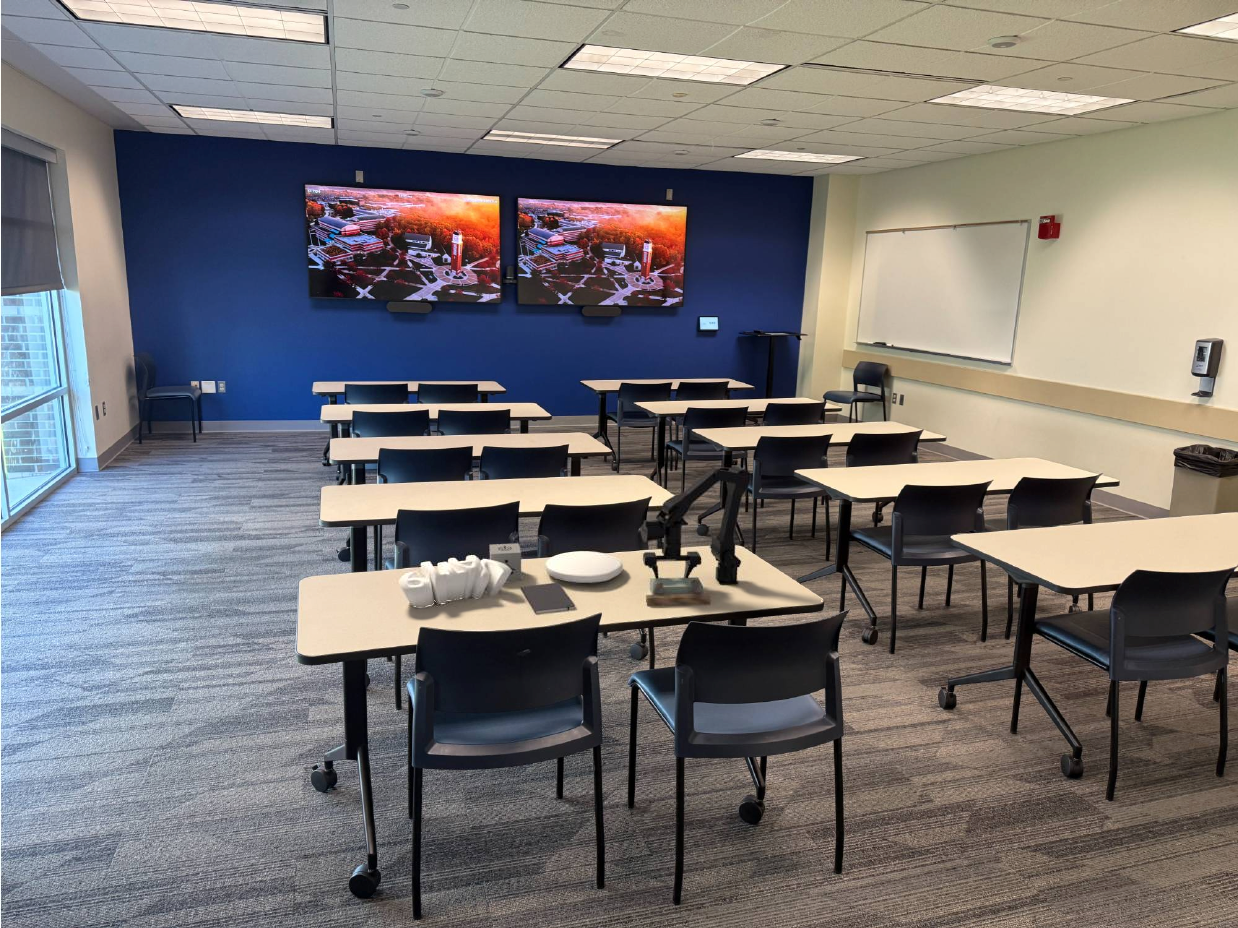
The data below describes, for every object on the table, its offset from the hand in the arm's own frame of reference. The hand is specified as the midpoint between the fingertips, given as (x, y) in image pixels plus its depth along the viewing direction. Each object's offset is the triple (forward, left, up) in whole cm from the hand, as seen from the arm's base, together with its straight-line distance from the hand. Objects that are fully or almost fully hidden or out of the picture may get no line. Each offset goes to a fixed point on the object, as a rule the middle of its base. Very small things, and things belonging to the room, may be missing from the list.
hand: (671, 582), depth 268 cm
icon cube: (+55, -14, -2) cm, 57 cm away
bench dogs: (0, +12, -2) cm, 12 cm away
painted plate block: (-1, +5, -2) cm, 6 cm away
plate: (+28, -15, -2) cm, 32 cm away
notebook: (+41, +7, -2) cm, 42 cm away
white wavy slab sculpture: (+71, +3, -2) cm, 71 cm away
